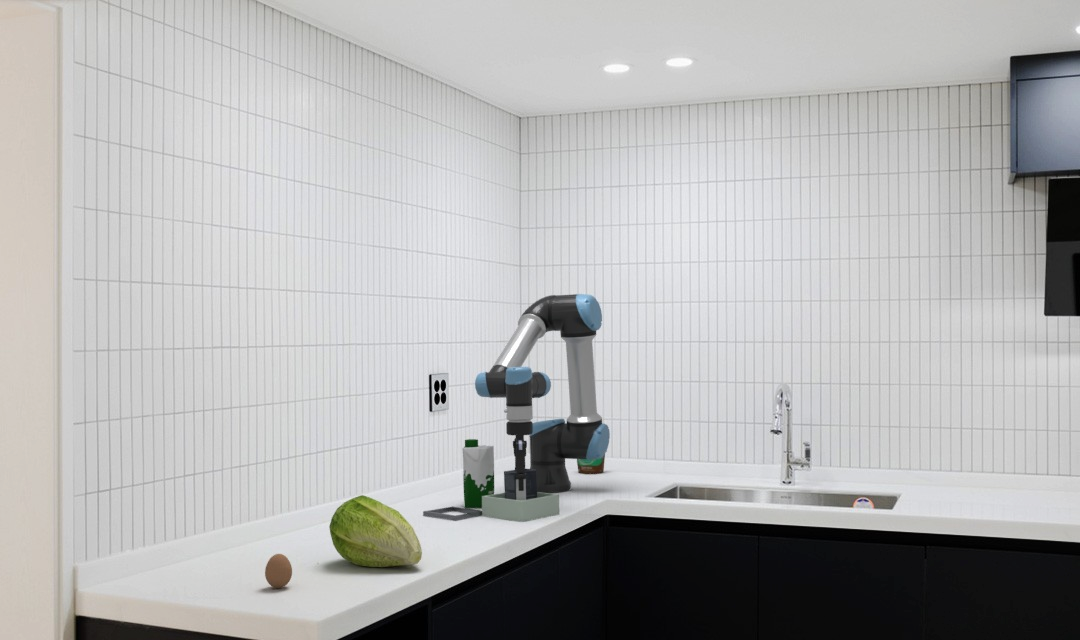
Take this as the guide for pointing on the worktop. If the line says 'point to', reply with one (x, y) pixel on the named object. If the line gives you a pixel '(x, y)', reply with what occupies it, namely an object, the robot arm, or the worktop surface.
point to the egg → (278, 571)
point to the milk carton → (477, 472)
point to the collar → (438, 514)
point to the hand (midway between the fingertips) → (520, 499)
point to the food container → (591, 466)
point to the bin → (520, 507)
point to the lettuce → (373, 534)
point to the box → (511, 484)
